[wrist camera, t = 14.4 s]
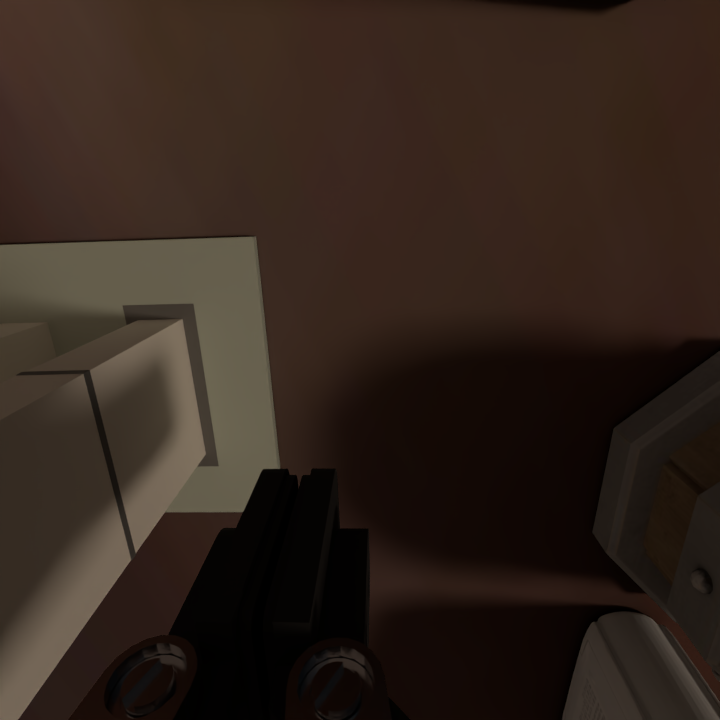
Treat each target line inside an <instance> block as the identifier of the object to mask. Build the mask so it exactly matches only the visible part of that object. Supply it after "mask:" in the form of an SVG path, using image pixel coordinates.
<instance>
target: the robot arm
mask: <svg viewBox="0 0 720 720" xmlns="http://www.w3.org/2000/svg"><path fill="white" fill-rule="evenodd" d="M369 597H370V559H369V529H340V521H339V502H338V482H337V470H336V469H312V471H311V474H310V475H303V476H302V479H301V482H300V486H299V489H298V480H297V476H296V475H289V471H288V469H263V470H262V471H261V474H260V476H259V478H258V480H257V482H256V485H255V487H254V489H253V491H252V494H251V496H250V498H249V500H248V503H247V505H246V507H245V509H244V511H243V514H242V516H241V518H240V520H239V523H238V525H237V527H236V528H223V529H222V530H221V531H220V532H219V534H218V535H217V537H216V539H215V541H214V543H213V545H212V547H211V550H210V552H209V554H208V556H207V558H206V560H205V562H204V564H203V566H202V568H201V570H200V572H199V574H198V576H197V578H196V580H195V582H194V584H193V586H192V588H191V590H190V592H189V594H188V596H187V598H186V600H185V602H184V604H183V606H182V608H181V610H180V612H179V614H178V616H177V618H176V620H175V622H174V624H173V626H172V628H171V630H170V632H169V634H168V635H159V636H155V637H151V638H147V639H145V640H143V641H141V642H139V643H137V644H134V645H132V646H131V647H129V648H128V649H127V650H125V651H124V652H123V653H121V654H120V655H119V656H117V657H116V658H115V659H114V661H113V662H112V663H111V664H110V665H109V666H108V667H107V668H106V669H105V670H104V672H103V673H102V675H101V676H100V677H99V679H98V680H97V681H96V683H95V684H94V685H93V687H92V688H91V689H90V691H89V692H88V693H87V695H86V696H85V697H84V699H83V700H82V701H81V703H80V704H79V705H78V707H77V708H76V709H75V711H74V712H73V713H72V715H71V716H70V717H69V719H68V720H410V719H409V718H408V717H407V716H406V715H405V714H404V713H403V712H402V711H401V710H400V708H399V707H398V706H397V705H396V704H395V703H394V702H393V701H392V700H391V699H390V698H389V697H388V693H387V687H386V681H385V675H384V672H383V669H382V666H381V663H380V661H379V660H378V658H377V657H376V655H375V654H374V653H373V651H372V650H371V649H369V648H368V641H369Z"/></svg>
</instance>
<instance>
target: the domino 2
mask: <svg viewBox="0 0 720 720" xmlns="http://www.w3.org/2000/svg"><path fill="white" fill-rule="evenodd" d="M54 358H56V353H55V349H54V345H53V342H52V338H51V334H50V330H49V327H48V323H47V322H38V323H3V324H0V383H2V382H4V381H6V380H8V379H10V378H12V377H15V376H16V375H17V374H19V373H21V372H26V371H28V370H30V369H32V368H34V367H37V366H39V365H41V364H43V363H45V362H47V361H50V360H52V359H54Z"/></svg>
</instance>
